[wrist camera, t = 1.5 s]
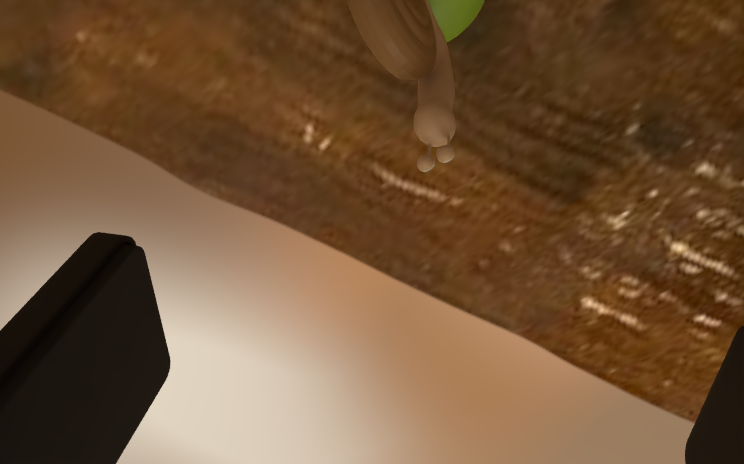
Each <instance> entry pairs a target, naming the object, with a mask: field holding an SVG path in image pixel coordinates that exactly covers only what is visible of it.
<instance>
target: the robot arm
mask: <svg viewBox="0 0 744 464" xmlns="http://www.w3.org/2000/svg"><path fill="white" fill-rule="evenodd" d="M169 369H170V356H169V352H168V348H167V344H166V339H165V336H164V331H163V327H162V323H161V319H160V314H159V310H158V306H157V302H156V298H155V294H154V289H153V285H152V281H151V277H150V273H149V269H148V265H147V260H146V256H145V253H144V250H143V249H142V248H141V247H139V246H136V243H135V241H134V240H133V238H131V237H129V236H123V235H116V234H108V233H101V232H98V233H94V234H92V235H91V236H90V237H89V238H88V239H87V240H86V241H85V242H84V243H83V244H82V245H81V246H80V247H79V248H78V249H77V250H76V251H75V252H74V253H73V254H72V256H71V257H70V258H69V259H68V260H67V261H66V262H65V263H64V264H63V265H62V266H61V267H60V268H59V269H58V271H57V272H55V274H54V275H53V276H52V277H51V278H50V279H49V280H48V281H47V282H46V283H45V284H44V285H43V286H42V287H41V288H40V289H39V291H37V293H36V294H35V295H34V296H33V297H32V298H31V299H30V300H29V301H28V302H27V303H26V304H25V305H24V307H22V308H21V309H20V311H19V312H18V313H17V314H16V315H15V316H14V317H13V318H12V319H11V320H10V321H9V322H8V323H7V324H6V325H5V326H4V327H3V328H2V329H1V331H0V464H116V463H117V461H118V459H119V457H120V456H121V454H122V453H123V450H124V449H125V448H126V446H127V444H128V443H129V441H130V439H131V437H132V436H133V434H134V432H135V431H136V429H137V427H138V426H139V424H140V422H141V421H142V419H143V417H144V416H145V414H146V412H147V411H148V409H149V407H150V406H151V404H152V402H153V401H154V399H155V397H156V396H157V394H158V392H159V391H160V389H161V387H162V385H163V384H164V382H165V380H166V378H167V376H168V373H169ZM685 462H686V464H744V326H741V327H740V328H739V329H738V331H737V333H736V335H735V337H734V339H733V341H732V343H731V346H730V348H729V350H728V352H727V354H726V357H725V359H724V361H723V363H722V365H721V368H720V370H719V372H718V374H717V376H716V379H715V381H714V383H713V385H712V387H711V390H710V392H709V394H708V396H707V398H706V401H705V403H704V405H703V407H702V409H701V412H700V414H699V416H698V418H697V420H696V423H695V425H694V427H693V429H692V431H691V434H690V436H689V438H688V441H687V444H686V449H685Z"/></svg>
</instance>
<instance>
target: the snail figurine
mask: <svg viewBox="0 0 744 464" xmlns="http://www.w3.org/2000/svg"><path fill="white" fill-rule="evenodd" d="M346 1H347V4H348V7H349V9H350V12H351V15H352V17H353V19H354V22H355V24H356V26H357V28H358V30H359V32H360V34H361V36H362V38H363V39H364V41H365V43H366V44H367V46H368V48H369V49H370V51H371V52H372V53H373V55H374V56H375V58H376V59H377V60H378V61H379V62H380V64H381V65H382V66H383V67H384V68H385V69H386V70H387V71H388V72H390V73H391V74H393V75H394V76H396V77H397V78H399V79H403V80H409V81H414V80H417V79H419V80H418V106H419V107H418V109H417V110H416V112H415V115H414V129H415V132H416V134H417V136H418V137H419V139H420V140H421V141H422V142H424V143H425V144H427V145H428V154H423V155H421V156H420V157H419V158H418V160H417V167H418V169H419V170H420V171H423V172H427V171H429V170H431V169H432V168H433V167H434V166H435V160H434V158H433V157H432V156H431V155H430V154H431V147H432V146H433V147H439V148H438V150H437V152H436V156H437V159H438V160H439V161H440V162H442V163H446V162H449V161H451V160H452V159H453V158H454V156H455V151H454V149H453V148H452V147H451V146H450V140H451V139H452V137H453V135H454V133H455V130H456V121H455V117H454V114H453V106H454V98H455V87H454V77H453V71H452V65H451V61H450V56H449V51H448V46H447V42H448V41H450V40H452V39H453V38H455V37H457V36H458V35H459V34H461V33H462V32H463V31H464V30H465V29H466V28H467V27H468V26H469V25H470V24H471V23H472V22H473V20H474V19H475V17H476V16H477V15H478V13H479V11H480V9H481V7H482V5H483V3H484V1H485V0H346ZM446 144H447V145H446Z"/></svg>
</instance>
